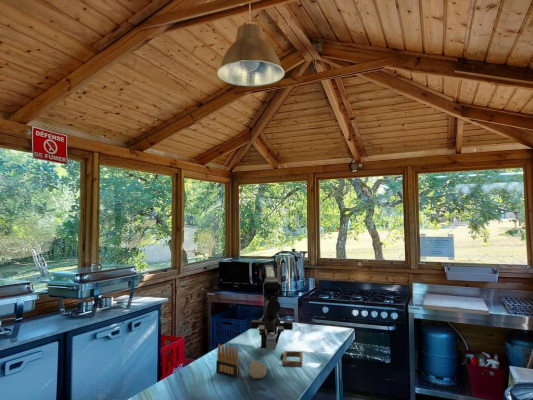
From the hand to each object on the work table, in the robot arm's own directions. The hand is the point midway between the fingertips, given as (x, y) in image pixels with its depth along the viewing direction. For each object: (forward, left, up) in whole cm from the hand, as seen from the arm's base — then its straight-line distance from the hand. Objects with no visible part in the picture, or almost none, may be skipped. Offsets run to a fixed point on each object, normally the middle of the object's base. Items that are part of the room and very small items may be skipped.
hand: (271, 344), depth 164 cm
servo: (0, 0, -1) cm, 1 cm away
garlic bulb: (-4, -15, -9) cm, 18 cm away
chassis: (+9, +8, -9) cm, 15 cm away
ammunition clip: (-17, -13, -9) cm, 23 cm away
